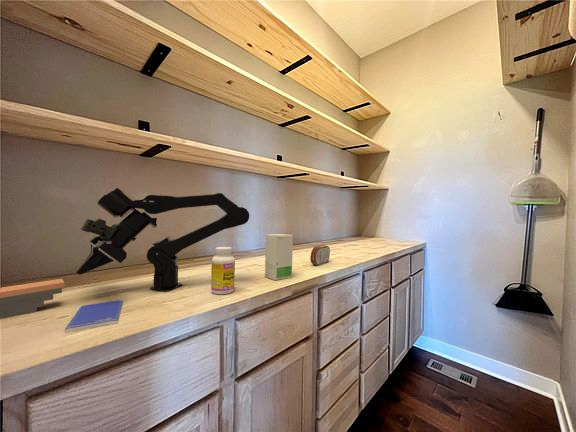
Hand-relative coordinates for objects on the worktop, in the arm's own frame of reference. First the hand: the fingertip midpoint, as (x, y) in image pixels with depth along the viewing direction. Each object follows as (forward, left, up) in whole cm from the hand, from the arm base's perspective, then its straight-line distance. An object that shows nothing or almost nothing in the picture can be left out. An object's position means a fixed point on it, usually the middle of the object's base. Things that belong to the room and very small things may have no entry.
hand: (77, 273), depth 61 cm
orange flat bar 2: (+2, -2, -3) cm, 4 cm away
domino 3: (+5, -3, -6) cm, 8 cm away
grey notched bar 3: (+4, -3, -4) cm, 6 cm away
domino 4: (+6, -4, -7) cm, 10 cm away
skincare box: (-38, +42, -7) cm, 57 cm away
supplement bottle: (-18, +31, -7) cm, 36 cm away
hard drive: (+5, +14, -8) cm, 17 cm away
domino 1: (+2, -2, -2) cm, 3 cm away
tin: (-66, +54, -7) cm, 85 cm away
